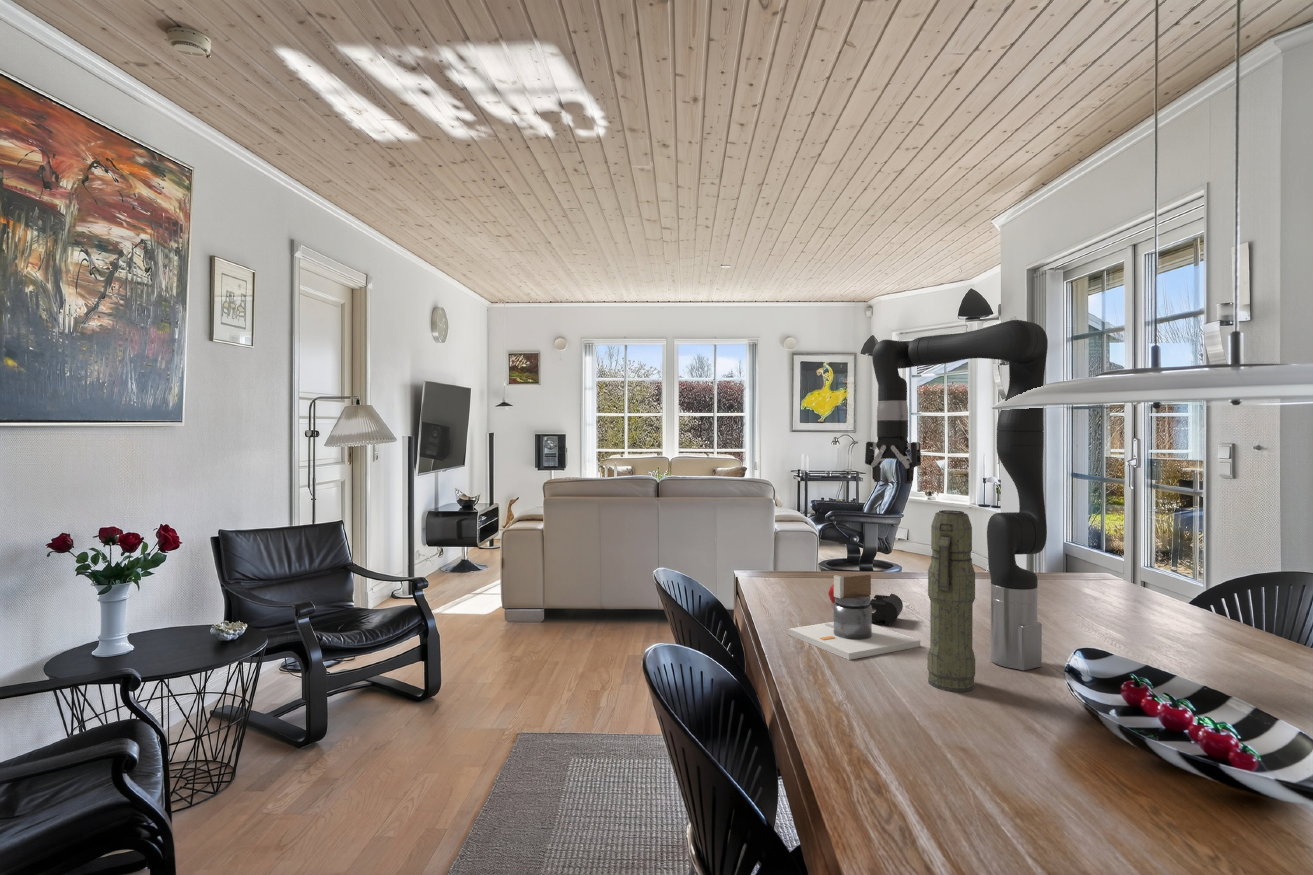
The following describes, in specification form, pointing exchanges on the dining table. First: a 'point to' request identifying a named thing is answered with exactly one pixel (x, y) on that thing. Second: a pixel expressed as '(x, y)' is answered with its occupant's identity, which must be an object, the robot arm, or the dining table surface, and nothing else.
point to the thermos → (951, 603)
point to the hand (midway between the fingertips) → (892, 482)
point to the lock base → (854, 646)
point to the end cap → (886, 609)
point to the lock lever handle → (852, 590)
